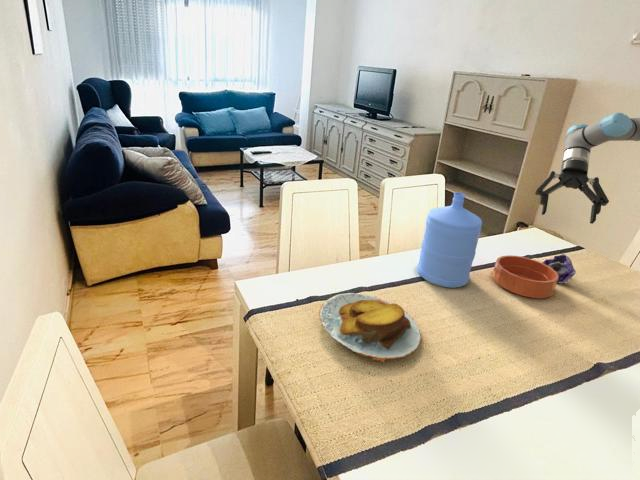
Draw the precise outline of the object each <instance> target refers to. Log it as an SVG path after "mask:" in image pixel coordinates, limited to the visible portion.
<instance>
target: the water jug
mask: <svg viewBox="0 0 640 480" xmlns="http://www.w3.org/2000/svg"><path fill="white" fill-rule="evenodd" d="M465 197H466V194H465V193H463V192H454V193H453V197H452V202H451V205H446V206H440V207H435V208H432V209H430V210H429V211H428V213H427V216H426V219H425V229H424V234H423V239H422V241H421V247H420V249H421V250H420V254H419V258H418V262H417V267H416V269H417V273H418V275H420V277H421V278H422V279H424V281H427V282H429V283H431V284H432V285H435V286H438V287H443V288H448V289H449V288H453V289H454V288H455V289H456V288H461V287H464V286H466V285H467V284H468V283H469V280H470V276H471V271H472V266H473V262H474V259H475V256H476V253H477V252H476V250H477V245H478V242H479V238H480V235H481V233H482V226H483V221H482V219H481V218H480V217H479V216H478V215H476V214H475V213H473V212H471V211H469V210H468V209H466V208H464V203H465Z"/></svg>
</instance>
